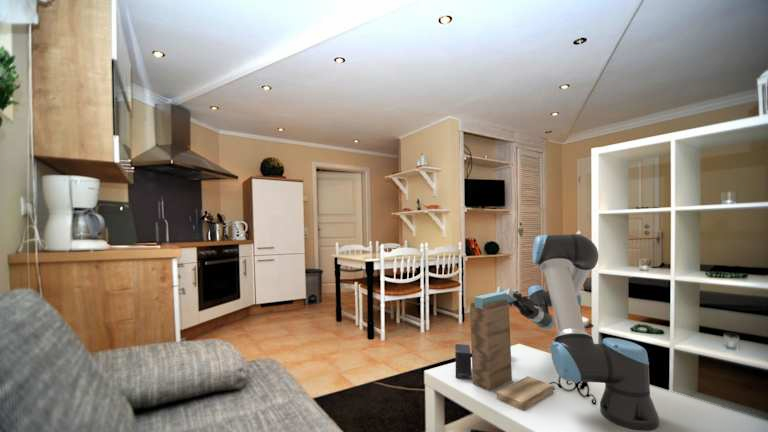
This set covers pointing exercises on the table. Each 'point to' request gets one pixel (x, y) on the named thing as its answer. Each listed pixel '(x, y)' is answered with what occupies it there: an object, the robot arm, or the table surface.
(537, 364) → the table surface
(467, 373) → the small box
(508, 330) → the stand
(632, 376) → the robot arm
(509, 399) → the oak board
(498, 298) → the rod
